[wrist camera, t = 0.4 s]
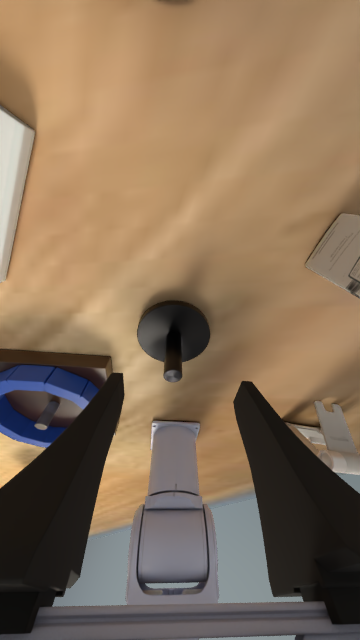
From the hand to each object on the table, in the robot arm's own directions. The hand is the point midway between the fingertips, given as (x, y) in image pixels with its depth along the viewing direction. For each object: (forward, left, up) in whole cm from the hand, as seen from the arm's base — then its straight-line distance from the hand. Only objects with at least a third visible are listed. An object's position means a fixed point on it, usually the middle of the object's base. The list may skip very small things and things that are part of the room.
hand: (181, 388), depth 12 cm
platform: (-15, +15, -10) cm, 24 cm away
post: (-3, 0, -10) cm, 10 cm away
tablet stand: (-18, -24, -10) cm, 31 cm away
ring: (-15, +15, -8) cm, 23 cm away
